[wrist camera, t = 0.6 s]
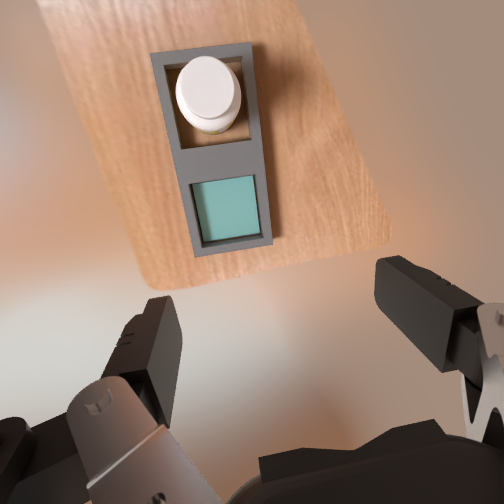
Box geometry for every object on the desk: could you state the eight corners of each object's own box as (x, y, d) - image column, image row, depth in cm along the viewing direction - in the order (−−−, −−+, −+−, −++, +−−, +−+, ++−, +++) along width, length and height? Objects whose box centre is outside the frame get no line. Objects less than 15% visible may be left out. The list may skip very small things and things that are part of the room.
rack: (153, 59, 27) (149, 53, 25) (249, 48, 28) (251, 42, 26) (195, 252, 34) (195, 257, 33) (270, 239, 35) (273, 244, 33)
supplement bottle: (224, 68, 28) (228, 30, 19) (244, 123, 30) (256, 112, 21) (175, 89, 28) (156, 61, 19) (198, 142, 30) (191, 140, 21)
